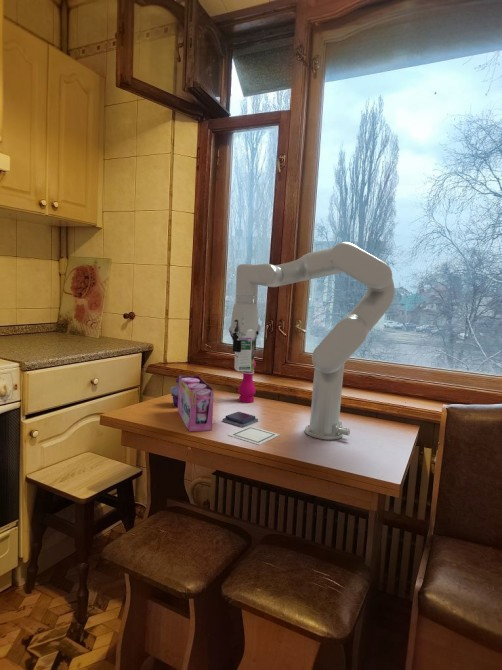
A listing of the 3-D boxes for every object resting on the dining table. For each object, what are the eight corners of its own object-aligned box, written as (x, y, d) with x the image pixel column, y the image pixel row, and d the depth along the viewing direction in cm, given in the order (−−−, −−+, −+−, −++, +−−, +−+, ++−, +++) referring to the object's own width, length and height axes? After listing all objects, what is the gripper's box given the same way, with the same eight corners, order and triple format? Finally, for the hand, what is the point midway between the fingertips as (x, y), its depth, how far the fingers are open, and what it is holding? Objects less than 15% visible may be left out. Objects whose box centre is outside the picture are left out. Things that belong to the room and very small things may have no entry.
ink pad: (257, 421, 146) (258, 416, 145) (243, 427, 138) (243, 421, 138) (237, 416, 151) (238, 410, 150) (222, 421, 143) (222, 415, 143)
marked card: (279, 435, 133) (279, 434, 133) (259, 445, 123) (259, 444, 123) (249, 426, 140) (249, 425, 140) (228, 435, 130) (228, 434, 130)
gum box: (213, 432, 132) (216, 391, 131) (189, 433, 129) (191, 391, 128) (197, 410, 155) (199, 375, 153) (176, 411, 152) (178, 375, 150)
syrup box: (237, 371, 140) (239, 329, 138) (233, 368, 145) (235, 328, 144) (253, 371, 141) (255, 329, 140) (249, 368, 147) (250, 328, 145)
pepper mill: (254, 403, 169) (257, 356, 166) (237, 402, 169) (240, 355, 167) (255, 399, 176) (257, 353, 174) (238, 398, 176) (241, 352, 174)
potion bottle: (175, 401, 165) (177, 372, 164) (195, 404, 162) (196, 374, 161) (165, 406, 157) (166, 376, 156) (185, 409, 154) (186, 378, 153)
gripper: (253, 300, 150) (251, 347, 152) (221, 299, 136) (219, 351, 138) (269, 301, 146) (267, 350, 147) (238, 300, 132) (236, 354, 133)
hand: (244, 350), depth 143 cm, fingers closed on syrup box, 7 cm apart
